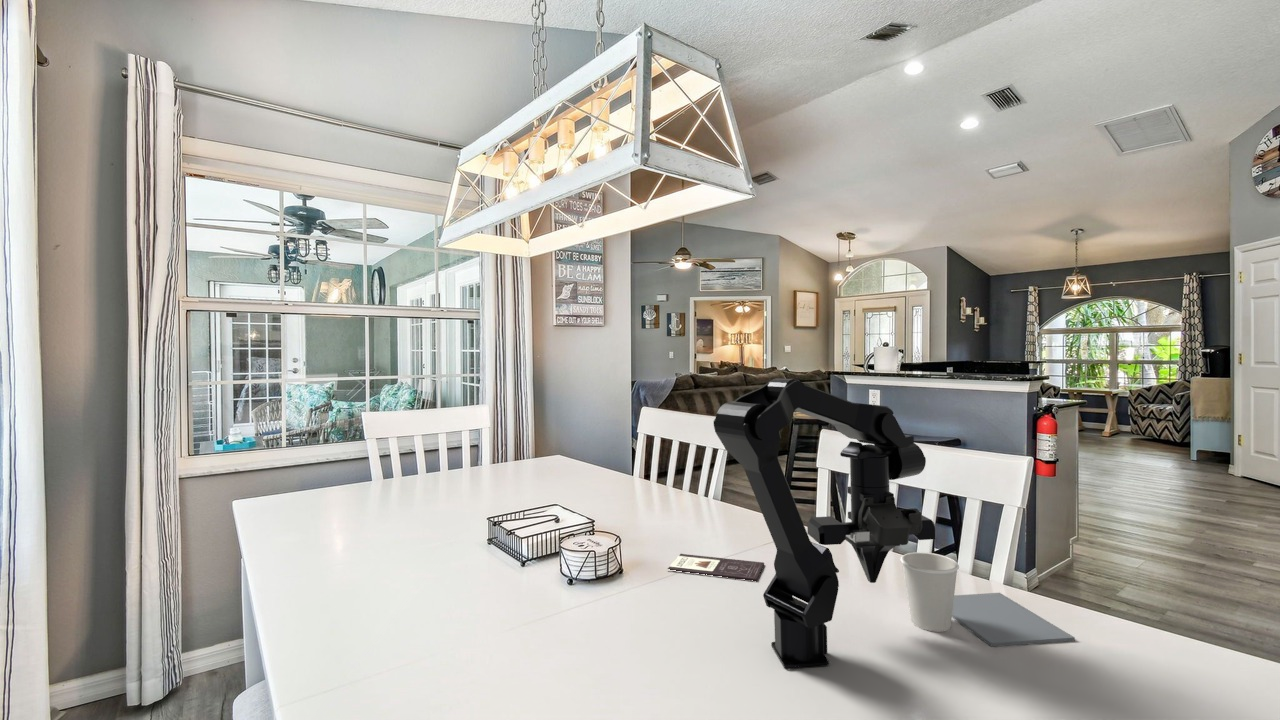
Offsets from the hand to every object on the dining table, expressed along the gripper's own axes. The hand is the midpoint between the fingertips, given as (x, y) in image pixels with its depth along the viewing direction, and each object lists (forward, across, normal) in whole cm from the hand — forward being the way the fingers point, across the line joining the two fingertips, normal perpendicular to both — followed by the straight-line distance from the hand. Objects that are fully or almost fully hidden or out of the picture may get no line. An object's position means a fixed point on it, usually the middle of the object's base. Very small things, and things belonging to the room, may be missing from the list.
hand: (871, 581), depth 91 cm
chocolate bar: (+8, -19, +28) cm, 35 cm away
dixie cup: (+7, +10, 0) cm, 12 cm away
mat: (+7, +21, 0) cm, 22 cm away
